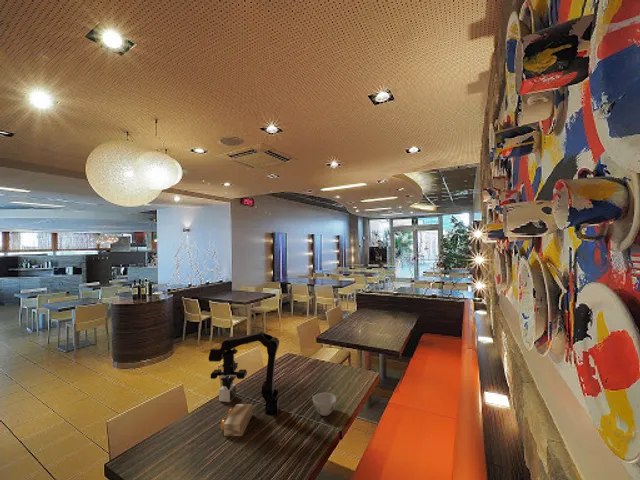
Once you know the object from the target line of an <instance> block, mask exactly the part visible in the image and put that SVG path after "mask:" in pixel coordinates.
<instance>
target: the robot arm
mask: <svg viewBox="0 0 640 480" xmlns="http://www.w3.org/2000/svg"><path fill="white" fill-rule="evenodd" d="M254 342H260V344H261V345H262V346H263V347H265V348H266V354H267V364H266V377H265V380H264V381H263V383H262V385H261V392H260V394H261V397H262V398H263V399H264V401H265V403H264V406H265V407H264V411H265V413H264V414H265V415H278V413H279V411H280V410H279V409H280V406H279V397H278V396H279V393H280V391H279V390H278V389H276V388H275V387H276V386H275V380H274V379H275V378H274V376H275V366H276V358H277V357H276V356H277V352H278V350H279V346H280V339H279V338H278V337H275V336H273V335H270V334H267V333H265V332H264V331H258V332H255V333H254V332H253V333H250V334H246V335H242V336H228V337H227V338H225V340H224V341H222V343H221V347H220V348H211V349H210V350H209V354H208V362H212V363H214V362H216V363H217V362H218V363H220V362H221V361H222V360H223V362H222V365H221V366H222V369H219V368H218V369H214V370H213V371H212V372H211V373H210V379H211V380H216V379H217V378H218V377H221V378H220V381H223V382H224V383H225V385H226V387H227V389H228V390H230V388H231V385H232V382H233V381H235V379H236V378H237V379H238V380H244V379H245V378H246V376H247V375H248V371H247V369H245V368H244V369H239V370H238V371H237V369H238V364H239V363H238V362H236V361H235V355H236V354H237V353H238V349H236V348H237V347H238V346H242V345H246V344H250V343H254ZM222 370H223V371H222ZM229 377H230V378H229ZM233 383H234V382H233Z"/></svg>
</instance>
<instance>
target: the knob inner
mask: <svg viewBox="0 0 640 480" xmlns="http://www.w3.org/2000/svg"><path fill="white" fill-rule="evenodd" d="M233 409H234V408H229V409H228V411H227V417H228V416H229V415H230V413H231V412H232V410H233Z"/></svg>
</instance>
